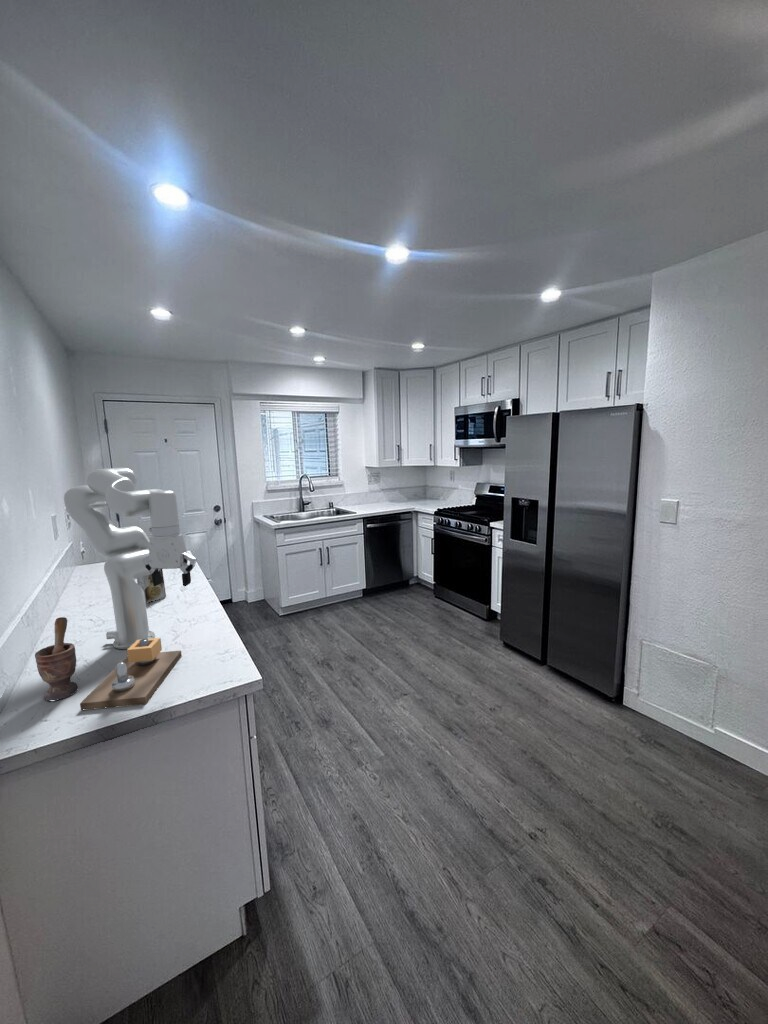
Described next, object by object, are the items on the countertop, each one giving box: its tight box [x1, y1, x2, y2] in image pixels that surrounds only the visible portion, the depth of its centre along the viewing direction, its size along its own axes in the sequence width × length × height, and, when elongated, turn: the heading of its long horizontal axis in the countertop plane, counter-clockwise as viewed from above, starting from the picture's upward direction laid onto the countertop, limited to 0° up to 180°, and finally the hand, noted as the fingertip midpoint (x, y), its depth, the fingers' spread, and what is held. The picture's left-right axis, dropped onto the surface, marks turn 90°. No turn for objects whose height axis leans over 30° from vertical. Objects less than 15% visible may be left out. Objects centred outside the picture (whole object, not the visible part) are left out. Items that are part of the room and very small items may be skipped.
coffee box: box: [136, 569, 167, 604], centre depth 191 cm, size 9×6×16 cm
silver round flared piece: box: [112, 661, 135, 693], centre depth 115 cm, size 5×5×7 cm
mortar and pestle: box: [34, 616, 79, 701], centre depth 117 cm, size 12×9×20 cm
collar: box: [126, 637, 163, 662], centre depth 129 cm, size 7×7×4 cm
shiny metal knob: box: [137, 639, 156, 666], centre depth 129 cm, size 5×5×7 cm
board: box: [79, 650, 183, 711], centre depth 123 cm, size 16×26×2 cm, turn 6°
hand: (172, 584), depth 132 cm, fingers open, 9 cm apart
